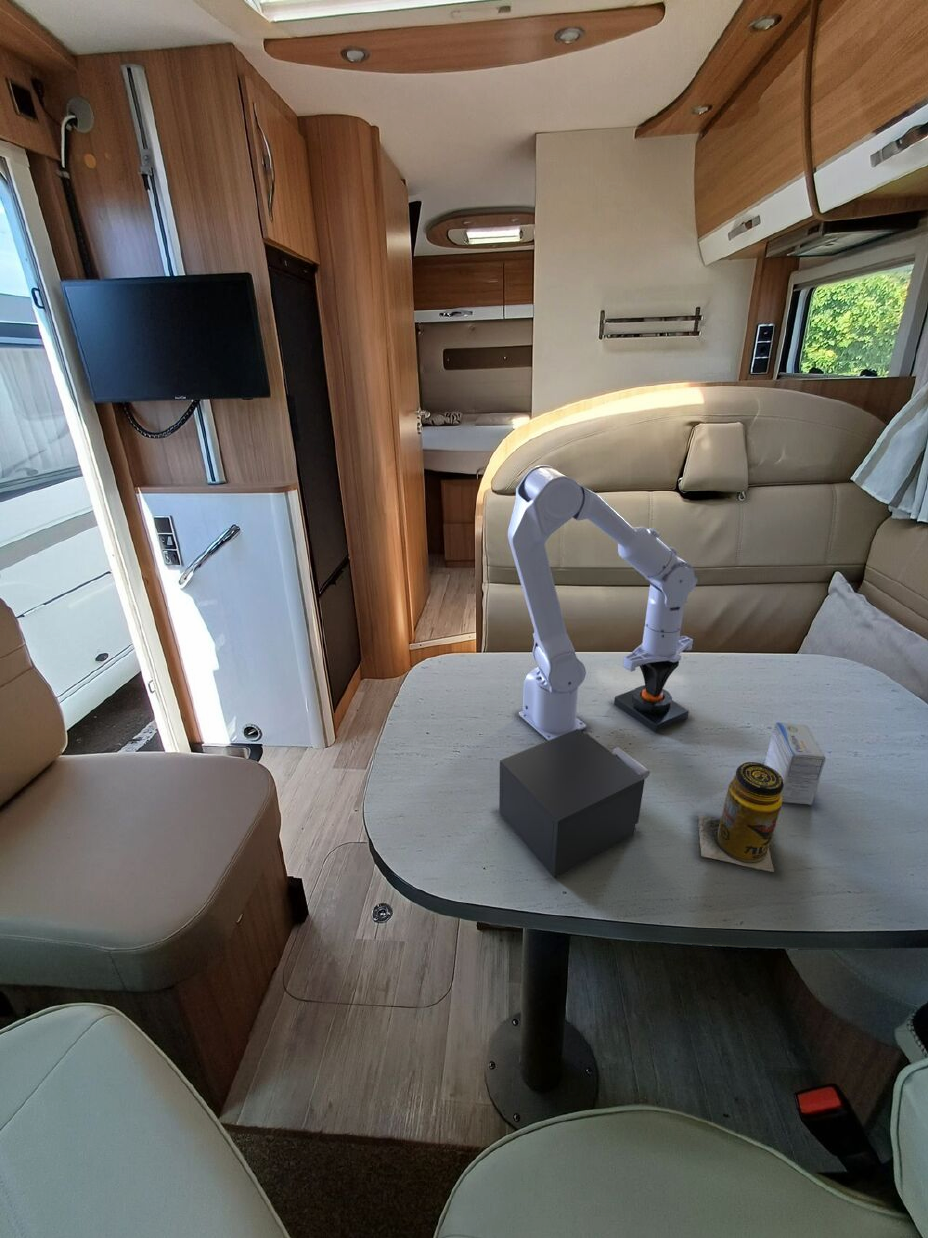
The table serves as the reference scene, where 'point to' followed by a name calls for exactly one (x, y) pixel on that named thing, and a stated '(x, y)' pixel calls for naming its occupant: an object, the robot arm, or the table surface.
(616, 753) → the drawer
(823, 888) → the table surface
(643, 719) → the control block
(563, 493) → the robot arm
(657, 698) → the button
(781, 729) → the medicine box
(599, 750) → the grey cube with drawer
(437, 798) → the table surface
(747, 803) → the condiment
